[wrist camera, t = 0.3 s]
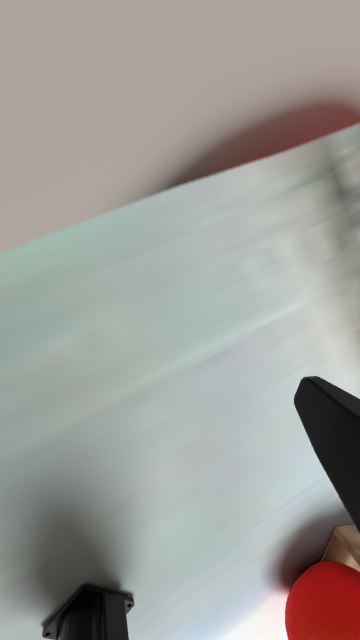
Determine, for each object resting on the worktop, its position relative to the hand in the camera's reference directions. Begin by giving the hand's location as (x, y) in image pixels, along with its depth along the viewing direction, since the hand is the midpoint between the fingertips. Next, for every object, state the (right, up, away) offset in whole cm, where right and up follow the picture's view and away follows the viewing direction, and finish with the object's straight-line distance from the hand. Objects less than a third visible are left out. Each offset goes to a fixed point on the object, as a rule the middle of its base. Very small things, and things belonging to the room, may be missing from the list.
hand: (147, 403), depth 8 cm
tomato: (+18, -31, +33) cm, 48 cm away
